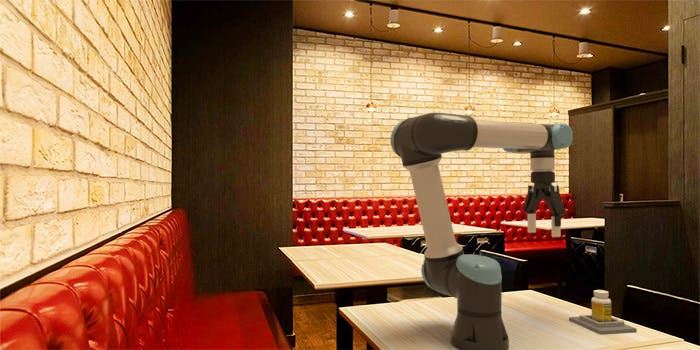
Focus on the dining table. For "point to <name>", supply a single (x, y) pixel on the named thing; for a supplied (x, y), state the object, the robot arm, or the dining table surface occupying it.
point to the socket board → (603, 325)
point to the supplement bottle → (601, 306)
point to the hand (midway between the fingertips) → (543, 234)
